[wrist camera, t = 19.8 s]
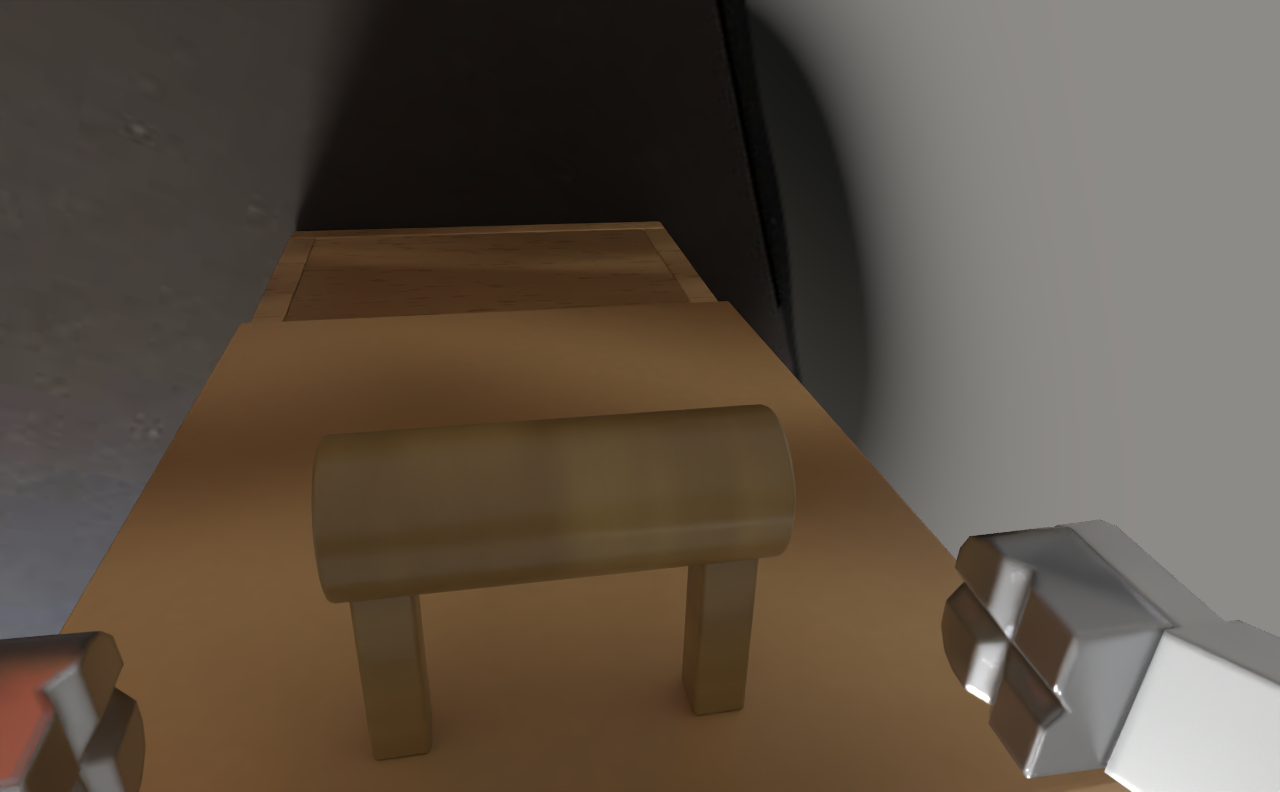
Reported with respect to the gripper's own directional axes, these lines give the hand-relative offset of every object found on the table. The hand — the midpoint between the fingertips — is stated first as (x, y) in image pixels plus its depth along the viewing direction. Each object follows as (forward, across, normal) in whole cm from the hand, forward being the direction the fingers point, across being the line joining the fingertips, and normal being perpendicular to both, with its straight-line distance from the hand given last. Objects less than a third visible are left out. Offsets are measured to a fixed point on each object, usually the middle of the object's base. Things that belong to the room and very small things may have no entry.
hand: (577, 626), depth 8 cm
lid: (+8, 0, +4) cm, 9 cm away
